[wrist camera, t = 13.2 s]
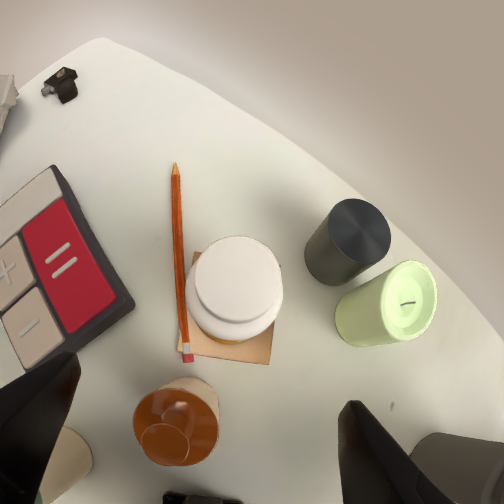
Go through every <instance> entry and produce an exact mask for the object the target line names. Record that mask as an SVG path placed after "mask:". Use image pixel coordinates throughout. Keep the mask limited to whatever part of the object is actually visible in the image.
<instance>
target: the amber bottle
mask: <svg viewBox="0 0 504 504" xmlns="http://www.w3.org/2000/svg"><path fill="white" fill-rule="evenodd" d="M133 428H134V432H135V436H136V438H137V440H138V442H139V444H140V445H141V446H142V448H143V450H144V452H145V454H146V455H147V456H148V457H149V458H150V459H151V460H152V461H154V462H155V463H157V464H160V465H164V466H188V465H193V464H196V463H198V462H200V461H202V460H204V459H205V458H207V457H208V456H209V455H210V454H211V453H212V451H213V450H214V448H215V446H216V444H217V442H218V437H219V404H218V398H217V396H216V394H215V392H214V390H213V389H212V388H211V387H210V386H209V385H208V384H207V383H205V382H204V381H202V380H200V379H197V378H193V377H182V378H178V379H176V380H174V381H172V382H170V383H168V384H166V385H165V386H163V387H161V388H159V389H157V390H155V391H153V392H152V393H150V394H148V395H147V396H145V397H144V398H143V399H142V400H141V401H140V403H139V404H138V406H137V408H136V410H135V413H134V417H133Z"/></svg>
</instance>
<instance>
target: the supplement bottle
mask: <svg viewBox="0 0 504 504" xmlns="http://www.w3.org/2000/svg"><path fill="white" fill-rule="evenodd" d="M185 297H186V303H187V306H188V309H189V312H190V314H191V316H192V318H193V319H194V321H195V322H196V324H197V325H198V327H199V328H200V330H201V331H202V332H203V333H204V334H205V335H206V336H207V337H209V338H210V339H212V340H214V341H216V342H219V343H222V344H237V343H241V342H244V341H246V340H248V339H250V338H252V337H254V336H257V335H258V334H260V333H261V332H263V331H264V330H265V329H267V328H268V327H269V326H270V325H271V323H272V322H273V321H274V319H275V318H276V316H277V315H278V313H279V311H280V308H281V305H282V301H283V284H282V280H281V271H280V267H279V264H278V262H277V260H276V258H275V256H274V255H273V253H272V252H271V251H270V250H269V249H268V248H267V247H266V246H265V245H264V244H262V243H260V242H259V241H257V240H255V239H252V238H249V237H244V236H230V237H225V238H222V239H219V240H217V241H215V242H214V243H212V244H211V245H209V246H208V247H207V248H206V249H205V250H204V251H203V252H202V254H201V255H200V257H199V258H198V260H197V261H196V262H195V263H194V265H193V266H192V268H191V269H190V271H189V274H188V277H187V280H186V286H185Z"/></svg>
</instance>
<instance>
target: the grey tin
mask: <svg viewBox="0 0 504 504" xmlns="http://www.w3.org/2000/svg"><path fill="white" fill-rule="evenodd" d="M390 243H391V233H390V228H389V226H388V223H387V221H386V219H385V218H384V216H383V215H382V213H381V212H380V211H379V210H378V209H377V208H376V207H374V206H373V205H372V204H370V203H368V202H366V201H364V200H360V199H346V200H343V201H341V202H339V203H337V204H336V205H335V206H334V207H333V209H332V210H331V211H330V213H329V214H328V215H327V217H326V218H325V219H324V221H323V222H322V223H321V225H320V226H319V228H318V229H317V230H316V232H315V233H314V234H313V236H312V237H311V238H310V240H309V241H308V243H307V245H306V248H305V262H306V265H307V268H308V269H309V271H310V273H311V274H312V275H313V276H314V277H315V278H316V279H317V280H319V281H320V282H322V283H324V284H327V285H333V286H336V285H342V284H344V283H346V282H348V281H349V280H351V279H353V278H354V277H356V276H357V275H359V274H360V273H362V272H364V271H365V270H367V269H368V268H370V267H371V266H373V265H374V264H376V263H377V262H379V261H380V260H381V259H383V258H384V257H385V255H386V254H387V252H388V250H389V248H390Z"/></svg>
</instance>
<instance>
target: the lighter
mask: <svg viewBox="0 0 504 504" xmlns="http://www.w3.org/2000/svg"><path fill="white" fill-rule="evenodd" d="M76 78H77V74H76V71H75V70H72V69H69V68H66V67H63V68H61V69H60V70H59V71H57V72H56V73H55V74H54V75H52V76H51V77H50V78H49V79H47V80H46V81H45V82H44V83H43V84H44V86H45V87H44V88H43V89H42V90H41V92H42V94H43V95H44V96H45V95H47V94H48V93H49V92H50V91H51V92H54V93H57V94H58V98H59V99H60V101H61V103H63V104H64V103H66V102H67V101H69V100H71V99H73V98H75V97H77V93H78V91H77V87H76V84H75V82H74V79H76Z"/></svg>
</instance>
